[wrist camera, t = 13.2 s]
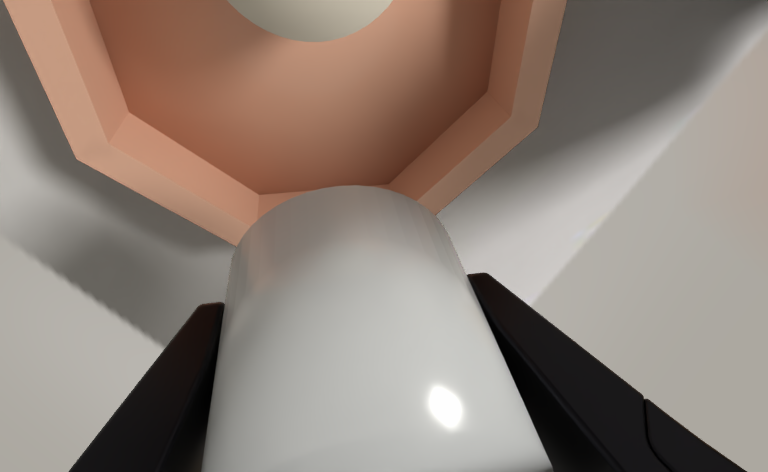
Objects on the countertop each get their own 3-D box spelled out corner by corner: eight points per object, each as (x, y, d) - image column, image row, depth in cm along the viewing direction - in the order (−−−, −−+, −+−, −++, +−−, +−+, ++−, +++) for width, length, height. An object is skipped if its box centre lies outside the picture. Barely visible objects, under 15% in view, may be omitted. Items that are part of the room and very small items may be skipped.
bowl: (573, -305, 11) (649, -352, 9) (487, 185, 20) (514, 227, 18) (-73, -349, 9) (-193, -424, 7) (146, 215, 18) (125, 265, 16)
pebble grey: (466, 175, 8) (599, 399, 5) (444, 338, 11) (517, 554, 7) (204, 196, 7) (133, 474, 4) (251, 363, 10) (234, 610, 7)
